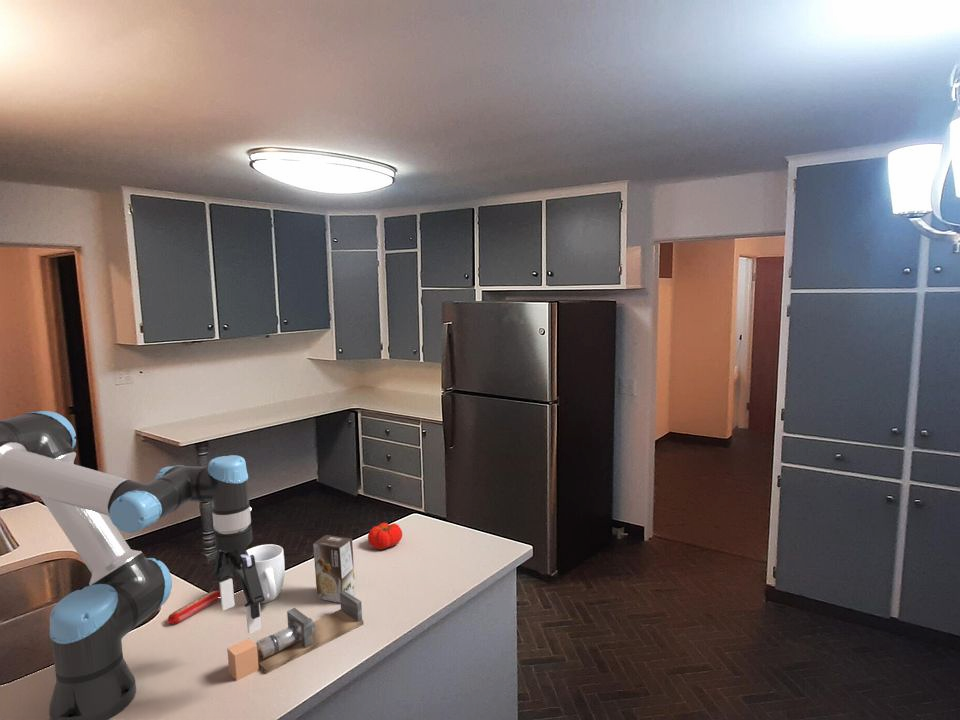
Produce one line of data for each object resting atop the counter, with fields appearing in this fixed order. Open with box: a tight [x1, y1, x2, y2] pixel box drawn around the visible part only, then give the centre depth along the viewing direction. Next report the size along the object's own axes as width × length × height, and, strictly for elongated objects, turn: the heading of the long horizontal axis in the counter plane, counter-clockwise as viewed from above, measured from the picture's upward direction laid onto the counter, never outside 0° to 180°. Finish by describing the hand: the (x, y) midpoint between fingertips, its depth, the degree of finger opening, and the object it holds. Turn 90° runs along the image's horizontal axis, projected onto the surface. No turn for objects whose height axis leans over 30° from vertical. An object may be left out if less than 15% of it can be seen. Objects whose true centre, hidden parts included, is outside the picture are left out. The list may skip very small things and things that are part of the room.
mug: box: [246, 543, 286, 604], centre depth 161 cm, size 15×11×13 cm
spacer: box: [226, 638, 260, 682], centre depth 132 cm, size 5×4×6 cm
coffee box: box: [312, 534, 356, 603], centre depth 163 cm, size 9×6×16 cm
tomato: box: [367, 522, 403, 550], centre depth 195 cm, size 10×11×6 cm
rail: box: [258, 591, 364, 674], centre depth 143 cm, size 26×9×7 cm, turn 136°
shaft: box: [255, 617, 316, 659], centre depth 139 cm, size 13×4×4 cm, turn 136°
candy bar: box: [165, 590, 221, 625], centre depth 157 cm, size 16×4×3 cm, turn 154°
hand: (241, 618), depth 131 cm, fingers open, 13 cm apart
